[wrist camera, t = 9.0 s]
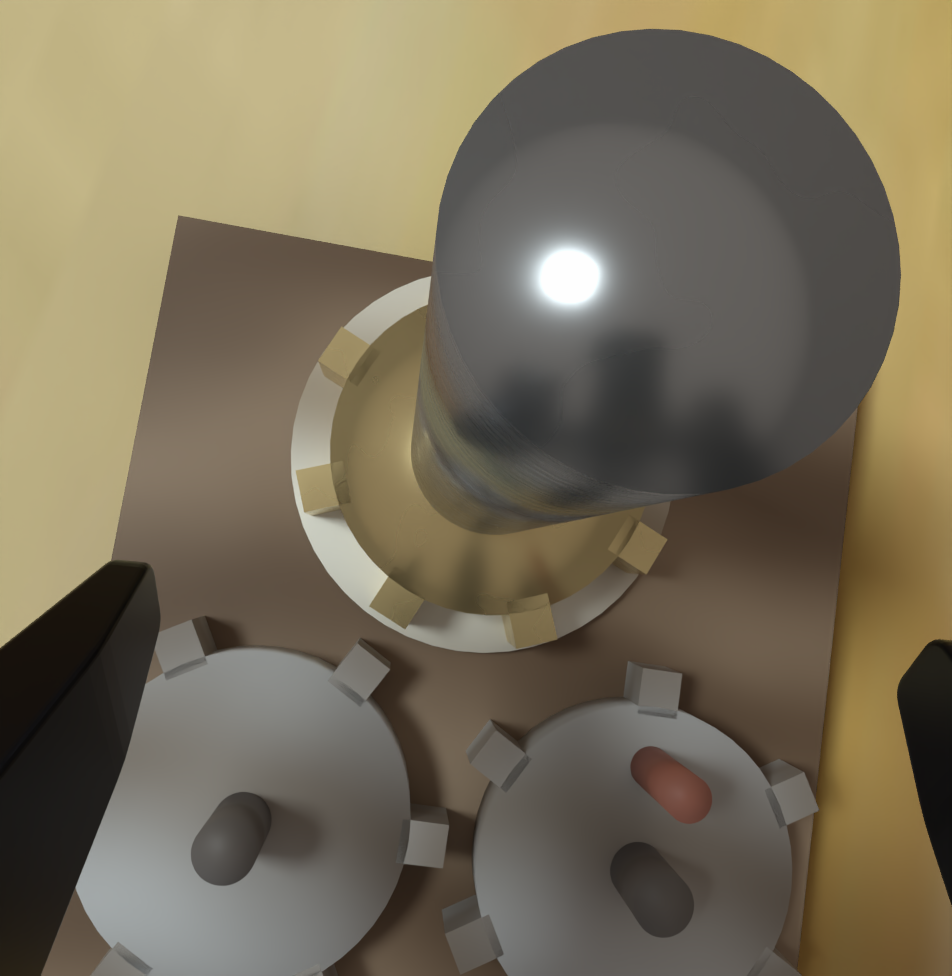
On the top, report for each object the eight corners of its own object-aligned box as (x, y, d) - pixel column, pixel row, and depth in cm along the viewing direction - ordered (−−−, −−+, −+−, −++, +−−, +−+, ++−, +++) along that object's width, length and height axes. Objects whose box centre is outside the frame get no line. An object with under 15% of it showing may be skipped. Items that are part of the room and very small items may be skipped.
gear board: (755, 1058, 20) (873, 1225, 15) (38, 982, 19) (-94, 1137, 14) (832, 355, 22) (963, 295, 17) (182, 238, 21) (111, 134, 16)
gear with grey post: (542, 711, 19) (865, 1058, 6) (230, 512, 18) (-160, 409, 6) (726, 409, 20) (1347, 133, 7) (433, 216, 19) (504, -458, 7)
